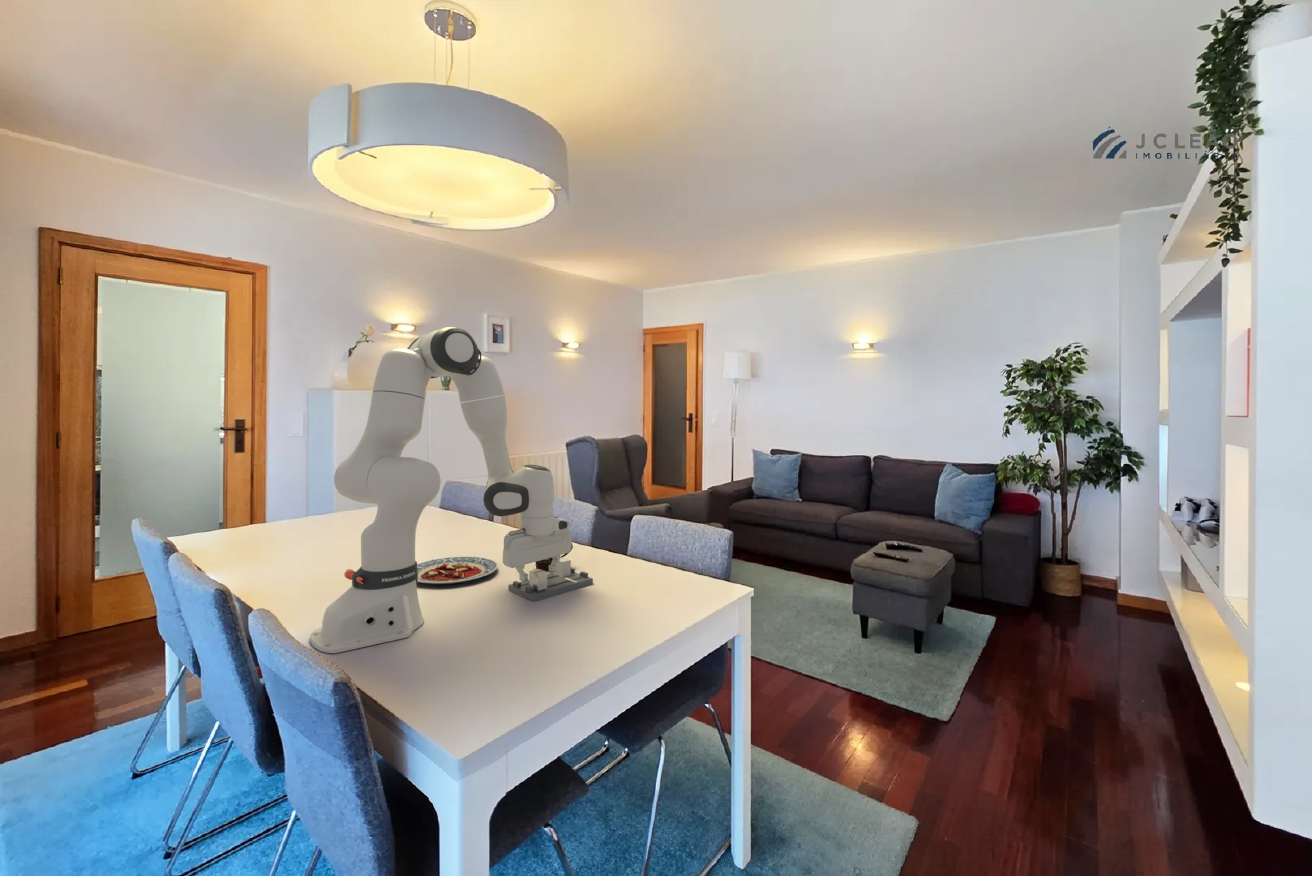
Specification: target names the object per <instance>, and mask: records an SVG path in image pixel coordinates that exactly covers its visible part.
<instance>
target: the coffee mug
mask: <svg viewBox="0 0 1312 876" xmlns="http://www.w3.org/2000/svg"><path fill="white" fill-rule="evenodd" d="M573 547H574V545H573V544H572V547H571V550H570V552H571V551H572V550H573ZM568 554H569V553H566V554H562V555H560V558H562V557H563V558H565V556H567V555H568ZM552 560H553V558H552V557H551V558H547V559H544V560H540V561H536V562H534V563H535V570H536V569H540V570H543V571H546V572H547V573H550V572H549V565H551V563H552Z"/></svg>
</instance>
